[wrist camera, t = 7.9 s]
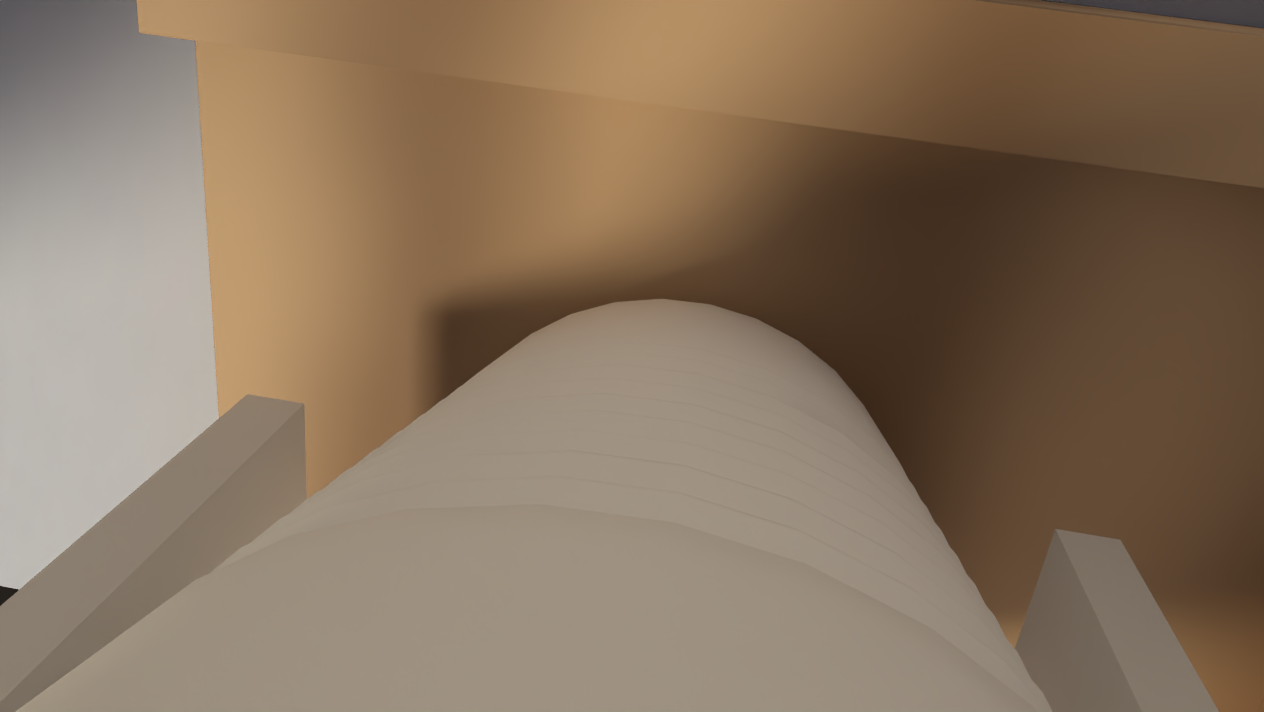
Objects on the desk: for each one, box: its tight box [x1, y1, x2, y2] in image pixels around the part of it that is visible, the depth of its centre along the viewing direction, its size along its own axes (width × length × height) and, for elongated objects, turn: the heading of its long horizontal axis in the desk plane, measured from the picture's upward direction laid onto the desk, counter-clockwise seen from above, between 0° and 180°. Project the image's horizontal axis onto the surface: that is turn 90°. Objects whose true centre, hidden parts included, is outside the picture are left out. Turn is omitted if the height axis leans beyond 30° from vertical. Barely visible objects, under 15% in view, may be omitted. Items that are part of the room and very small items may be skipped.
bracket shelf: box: [136, 0, 1264, 712], centre depth 12 cm, size 20×14×10 cm
